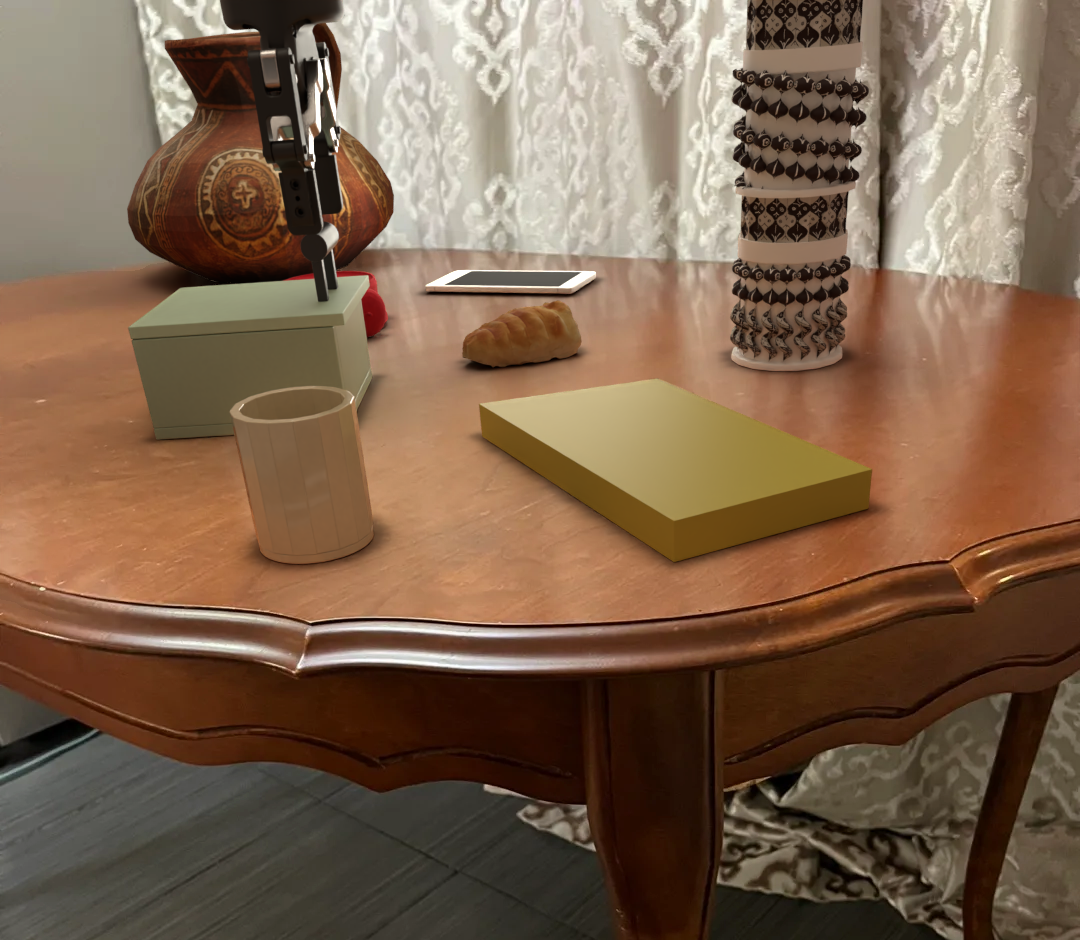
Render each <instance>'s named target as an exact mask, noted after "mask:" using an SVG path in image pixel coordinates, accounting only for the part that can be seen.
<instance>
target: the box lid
mask: <svg viewBox="0 0 1080 940" xmlns="http://www.w3.org/2000/svg"><path fill="white" fill-rule="evenodd" d="M338 239H339V234H338V231H337V229H336V227H335V226H334V225H333V224H331V223H329V222H323V229H322V230H321V231H320V232H319V233H318V234H312V235H305V236H304V237H303V239H302V241H301V251H302V254H303V255H304V257H305V258H306V259H308V260H309V261H311V262H312V268H313V274H314V279H304V280H289V281H274V282H260V283H245V284H231V283H229V284H218V285H216V284H215V285H202V286H186V287H179V288H178V289H177V290H175V292H173V293H172V294H170V295H169V296H168V297H166V298H165V299H164V300H162V301H160V302H159V303H158V304H157V305H156V306H155V307H153V308H152V309H150V310H149V311H147V312H146V313H145V314H143V315H142V316H140V318H138V319H137V320H136V321H134V322H133V323H132V324H130V325H129V326H128V327H127V329H128V333H129V337H130V339H131V340H133V339H143V338H158V337H174V336H189V335H204V334H219V333H235V332H250V331H265V330H280V329H295V328H311V327H326V326H341V325H345V324H346V322H347V321H348V319H349V317H350V316H351V314H352V313H353V311H354V310H355V308H356V307H357V305H358V303H359V302H360V300H361V299H362V297H363V296H364V294H365V293H366V291H367V289H368V288H369V286H370V283H369V276H368V275H364V276H349V277H337V275H336V271H337V270H336V268H335V262H334V255H333V248H334V247H335V245H336V244H337V242H338Z"/></svg>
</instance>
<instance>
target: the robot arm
mask: <svg viewBox="0 0 1080 940" xmlns="http://www.w3.org/2000/svg"><path fill="white" fill-rule="evenodd" d="M219 4H220V8H221V9H220V10H221V15H222V19H223V23H224V25H225V26H226V27H227V28H228V29H230V30H231V31H244V30H245V31H247V30H254V31H256V32H259V34H260V36H261V37H260V45H261V50H252V51H248V58H247V64H248V67H249V69H250V74H251V80H252V86H253V92H254V98H255V104H256V110H257V116H258V122H259V128H260V134H261V140H262V146H263V149H262V152H263V156H264V157H265V160H266V162H267V164H270V163H271V164H272V165H273V168H274V170H275V171H281V172H280V173H278V174H279V180H280V186H281V191H282V197H283V203H284V208H285V214H286V220H287V225H288V230H289V232H290V233H291V234H293V235H295V236H298V235H312V234H318V233H319V232H320V231H321V230H322V229H323V218H322V215H326V214H337V213H339V212H340V211H341V210H342V209H343V199H342V193H341V186H340V180H339V173H338V166H337V160H336V154H334V155H332V153H337V152H338V147H339V143H338V140H340V134H341V128H342V127H341V126H340V125H339V124H340V123H339V117H338V112H337V111H338V109H337V110H336V104H335V98H334V91H333V85H332V78H331V72H330V66H329V59H328V57H329V51H328V48H327V47H326V44H325V42H321V43H315V38H314V35H313V33H312V30H313V27H314V26H315V25H316V24H320V23H326V24H330V23H331V24H332V23H337V22H341V20H342V19H343V18H344V16H345V5H344V0H219ZM321 102H322V103H323V105H322V106H321ZM340 127H341V128H340ZM287 138H294V139H292V140H285V139H287Z"/></svg>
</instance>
